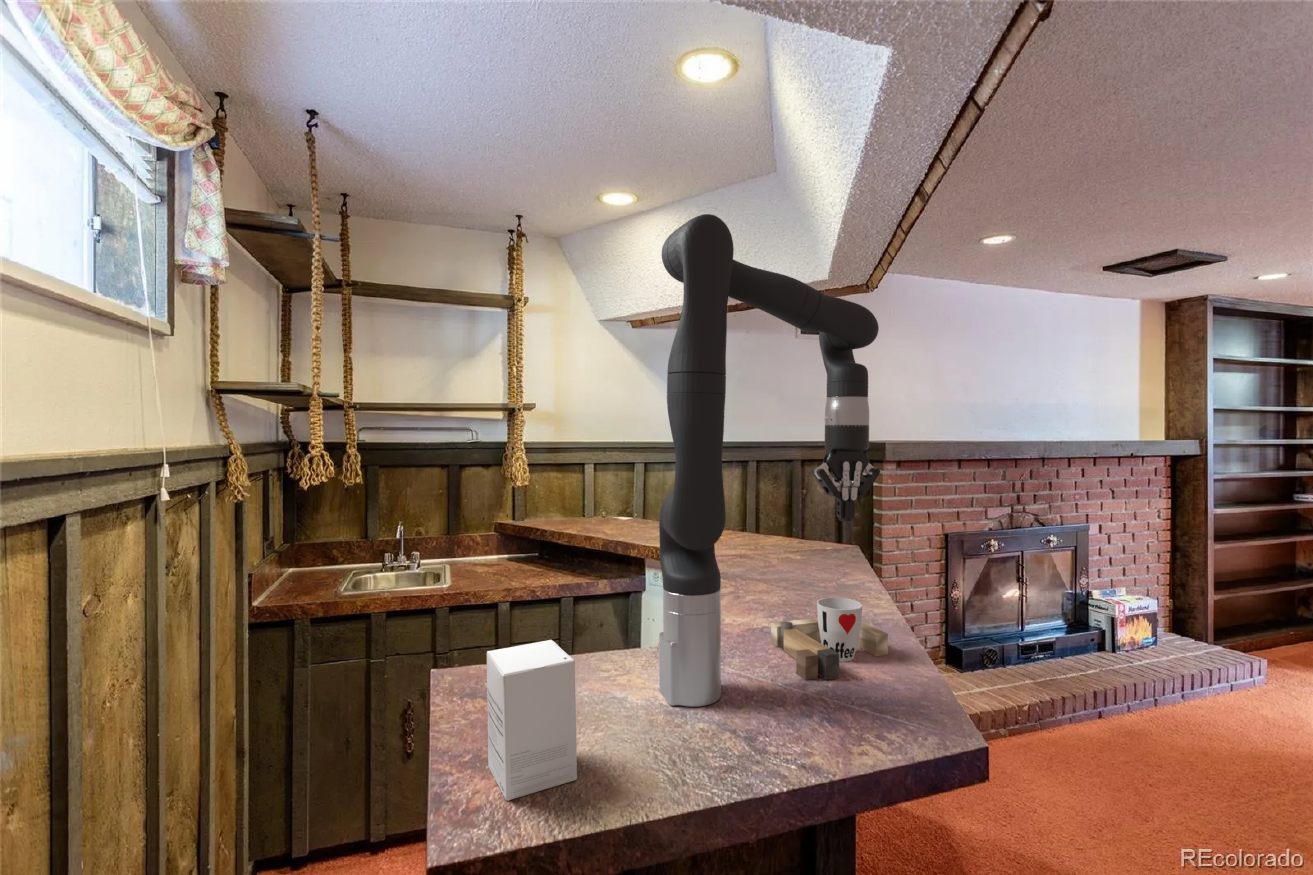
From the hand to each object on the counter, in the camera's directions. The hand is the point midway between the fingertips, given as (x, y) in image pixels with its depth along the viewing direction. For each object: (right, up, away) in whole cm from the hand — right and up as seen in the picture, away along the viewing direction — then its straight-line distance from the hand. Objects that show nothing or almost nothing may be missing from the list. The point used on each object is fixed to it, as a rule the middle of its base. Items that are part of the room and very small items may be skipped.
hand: (845, 520), depth 111 cm
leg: (-6, -26, +3) cm, 27 cm away
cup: (+1, -26, +6) cm, 27 cm away
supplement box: (-49, -27, -33) cm, 65 cm away
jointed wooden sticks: (-1, -26, +7) cm, 27 cm away
